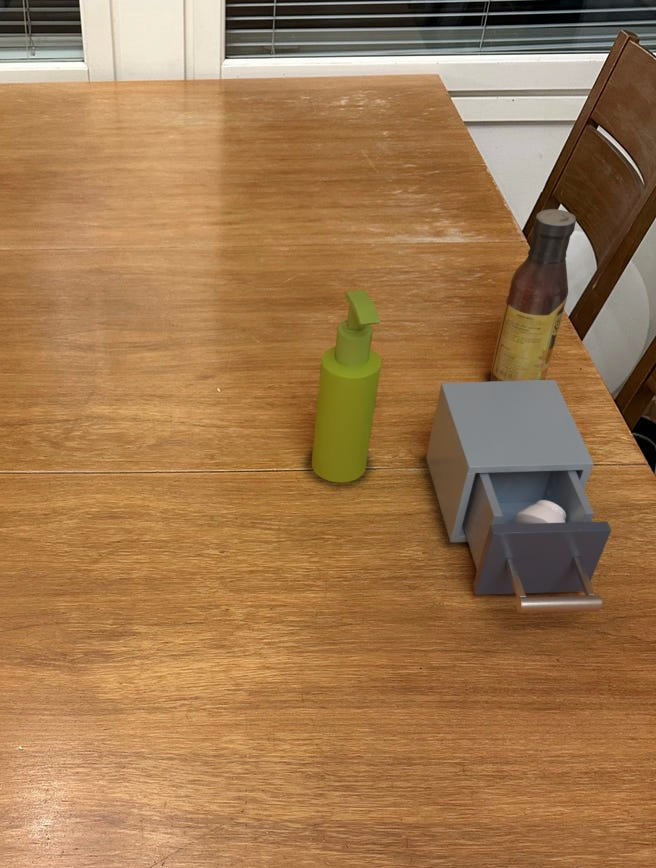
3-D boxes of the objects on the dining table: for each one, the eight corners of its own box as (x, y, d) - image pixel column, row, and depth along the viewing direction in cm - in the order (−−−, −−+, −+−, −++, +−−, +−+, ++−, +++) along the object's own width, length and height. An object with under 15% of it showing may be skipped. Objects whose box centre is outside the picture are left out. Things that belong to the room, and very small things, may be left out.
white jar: (504, 529, 95) (520, 511, 90) (519, 505, 95) (536, 486, 91) (549, 557, 94) (568, 539, 89) (564, 533, 95) (584, 514, 90)
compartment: (606, 641, 88) (634, 580, 82) (489, 644, 88) (509, 583, 82) (551, 504, 100) (572, 442, 94) (449, 507, 100) (463, 445, 94)
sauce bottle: (548, 399, 113) (598, 232, 98) (494, 400, 113) (536, 234, 99) (533, 367, 118) (580, 203, 103) (481, 369, 118) (520, 205, 103)
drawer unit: (566, 539, 98) (594, 463, 91) (450, 543, 98) (468, 466, 91) (532, 454, 107) (555, 379, 100) (425, 457, 107) (441, 382, 100)
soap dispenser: (321, 492, 104) (340, 321, 89) (305, 452, 108) (320, 283, 93) (375, 485, 104) (402, 314, 89) (357, 445, 109) (380, 277, 94)
